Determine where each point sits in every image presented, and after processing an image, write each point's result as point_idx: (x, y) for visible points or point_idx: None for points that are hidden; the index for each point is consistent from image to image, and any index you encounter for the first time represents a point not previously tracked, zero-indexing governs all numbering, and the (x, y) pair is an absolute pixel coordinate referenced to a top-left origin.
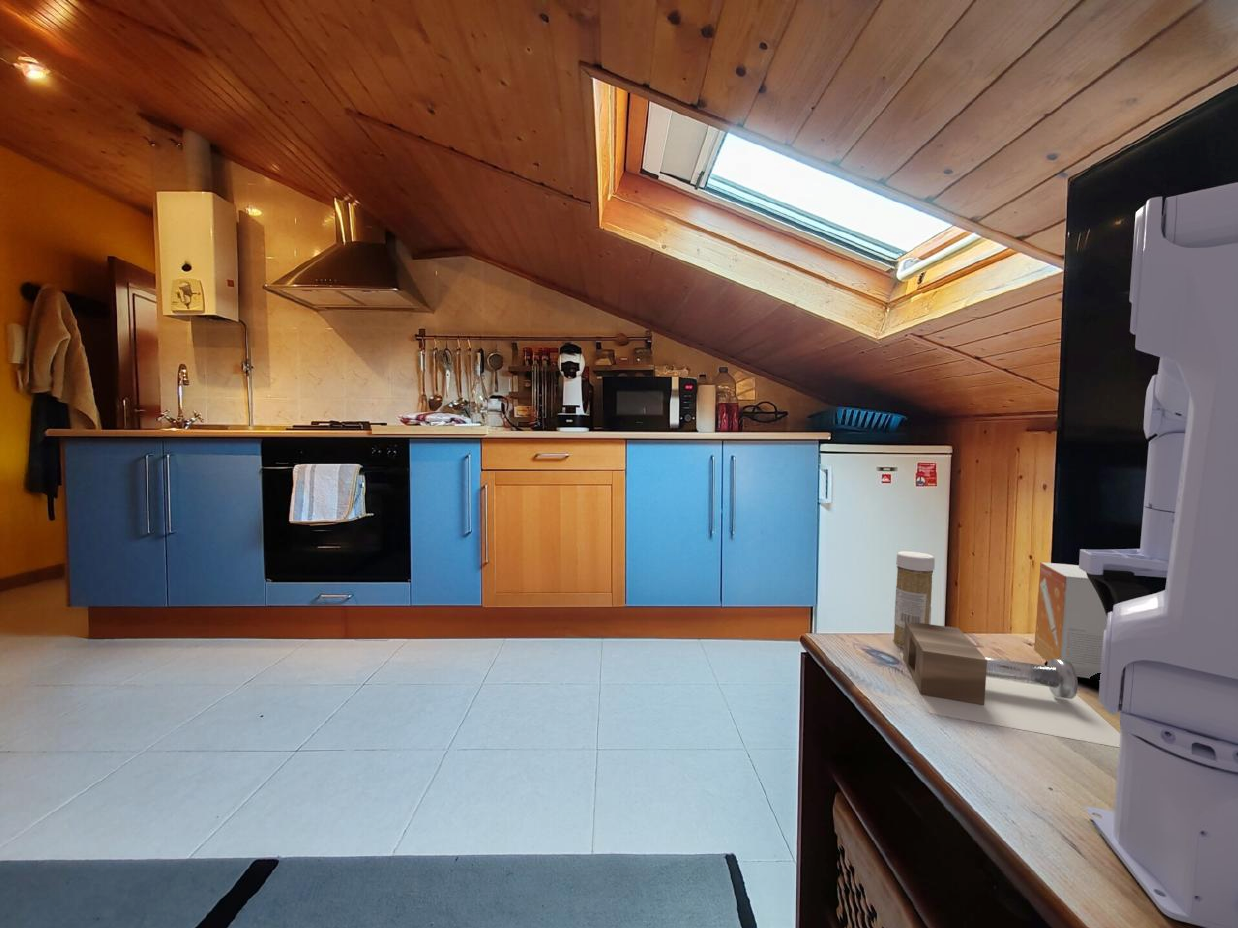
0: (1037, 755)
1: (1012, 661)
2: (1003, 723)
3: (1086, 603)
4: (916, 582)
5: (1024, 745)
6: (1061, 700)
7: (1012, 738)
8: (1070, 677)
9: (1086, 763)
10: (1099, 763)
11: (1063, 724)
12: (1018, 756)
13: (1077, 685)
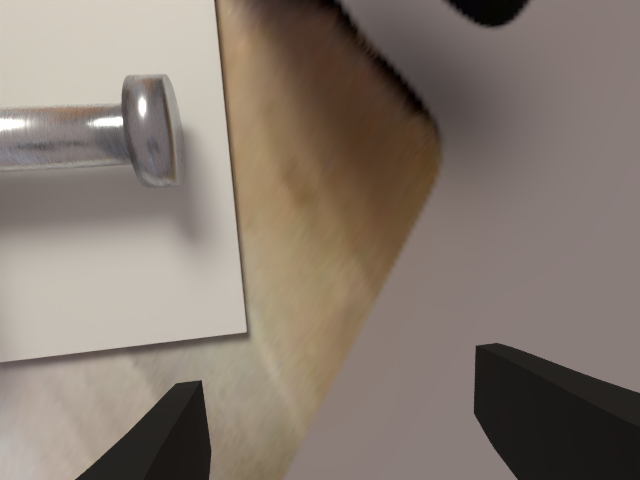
0: (59, 418)
1: (3, 136)
2: (2, 348)
3: None
4: None
5: (42, 391)
6: None
7: (23, 373)
8: (159, 181)
9: (142, 400)
10: (166, 388)
11: (136, 285)
12: (21, 441)
13: (179, 184)
